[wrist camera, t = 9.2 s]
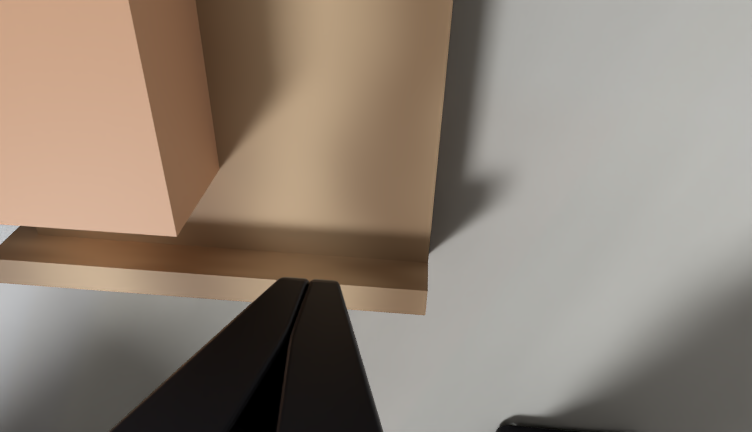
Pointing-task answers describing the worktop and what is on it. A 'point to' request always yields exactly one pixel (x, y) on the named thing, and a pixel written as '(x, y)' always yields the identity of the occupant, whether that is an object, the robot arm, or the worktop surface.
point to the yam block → (103, 115)
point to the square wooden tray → (291, 163)
